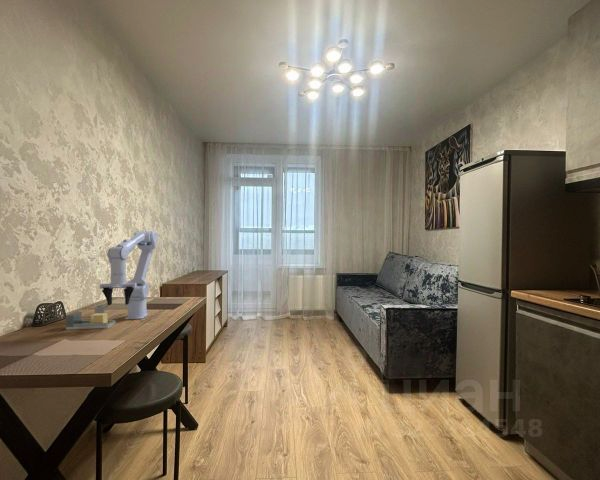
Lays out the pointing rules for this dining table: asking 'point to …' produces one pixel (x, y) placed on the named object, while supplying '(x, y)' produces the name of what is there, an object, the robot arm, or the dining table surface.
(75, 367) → the dining table surface
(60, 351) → the dining table surface
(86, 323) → the grey flat tray
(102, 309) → the lighter
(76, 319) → the anvil
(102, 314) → the block
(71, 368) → the dining table surface
